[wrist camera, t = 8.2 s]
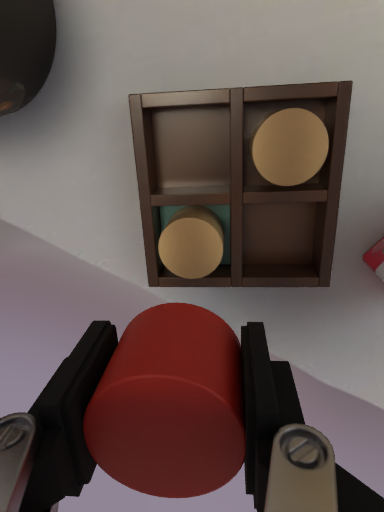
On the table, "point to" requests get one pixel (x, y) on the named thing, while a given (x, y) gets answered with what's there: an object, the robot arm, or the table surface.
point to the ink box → (376, 258)
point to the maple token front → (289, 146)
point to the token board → (239, 182)
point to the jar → (24, 50)
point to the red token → (170, 404)
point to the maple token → (192, 242)
